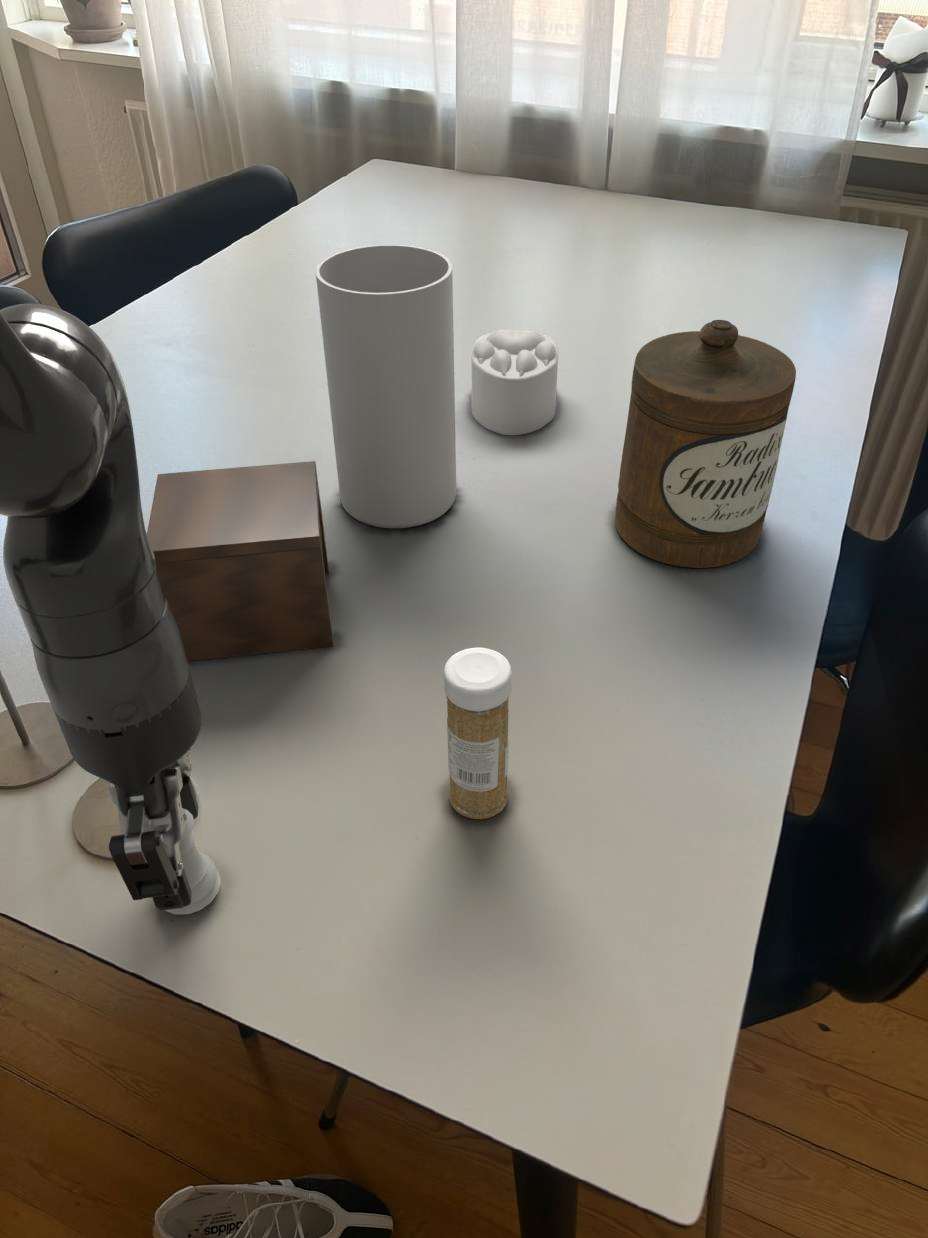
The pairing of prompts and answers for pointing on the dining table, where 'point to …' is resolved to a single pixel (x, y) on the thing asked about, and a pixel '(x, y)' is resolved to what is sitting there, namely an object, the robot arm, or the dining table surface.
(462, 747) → the sprinkles bottle
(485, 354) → the lumpy-topped squat cylinder
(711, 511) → the wooden container
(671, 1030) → the dining table surface
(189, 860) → the rook chess piece
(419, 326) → the cylinder vase
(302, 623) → the wooden lidded box
